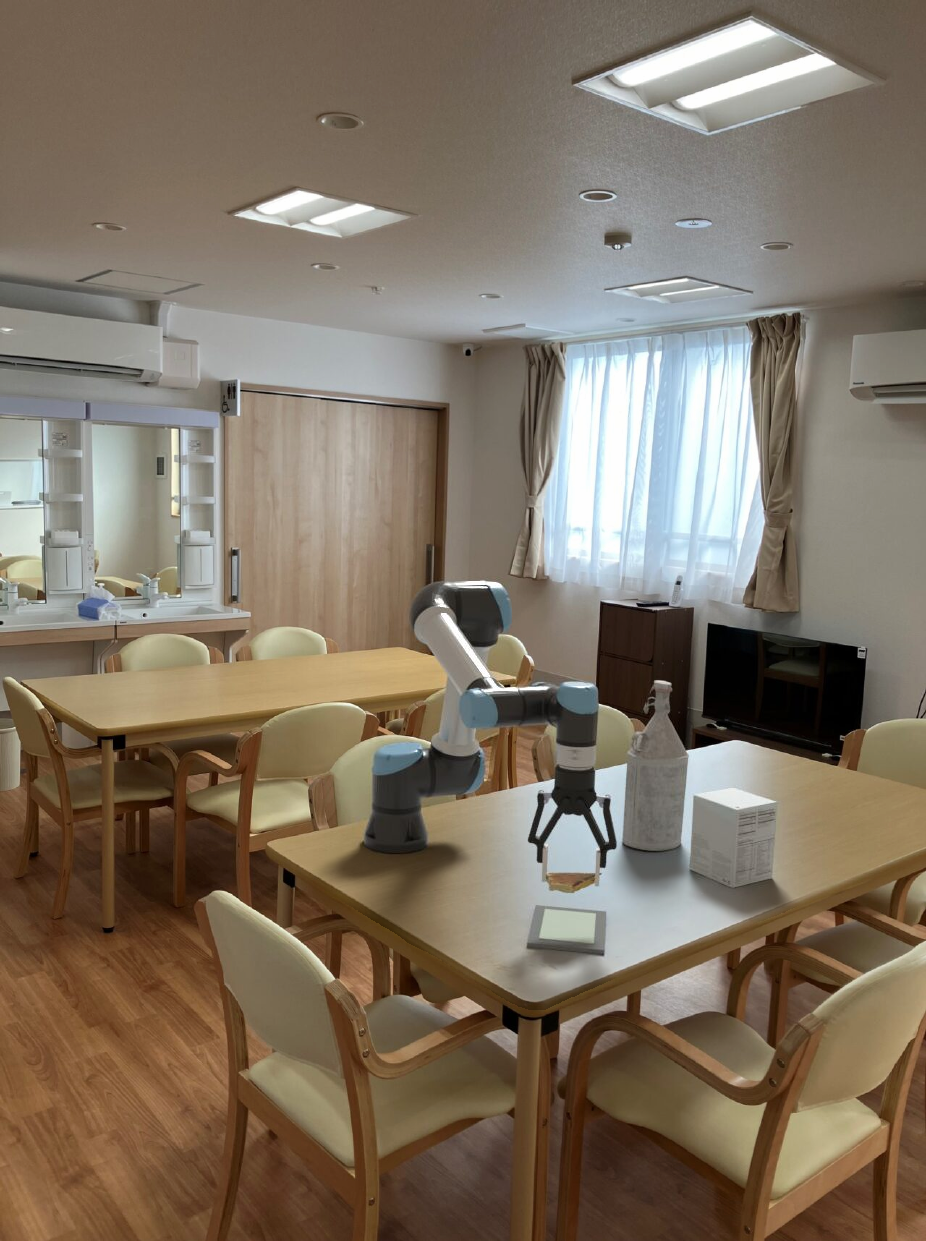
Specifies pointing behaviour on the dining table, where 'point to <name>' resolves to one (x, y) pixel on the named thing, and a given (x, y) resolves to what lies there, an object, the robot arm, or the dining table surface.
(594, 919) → the mat
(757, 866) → the supplement box
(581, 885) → the shard
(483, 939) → the dining table surface
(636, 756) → the grey stoneware bottle
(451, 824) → the dining table surface
